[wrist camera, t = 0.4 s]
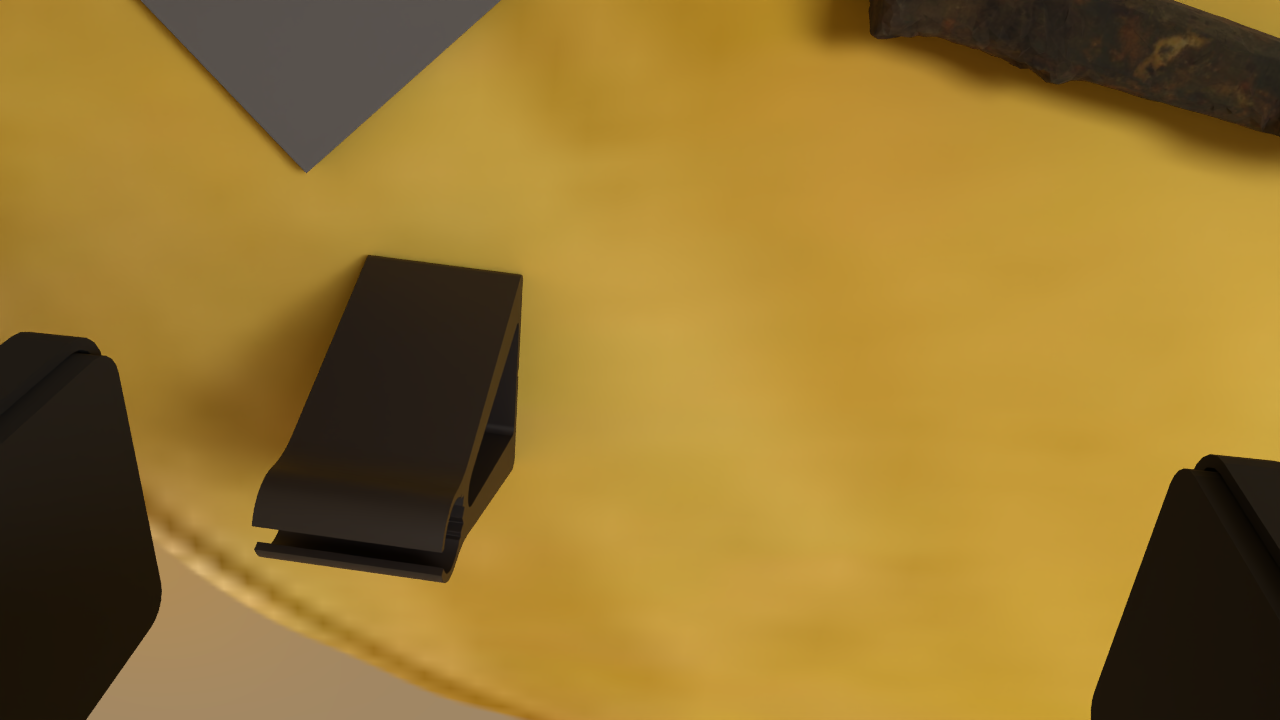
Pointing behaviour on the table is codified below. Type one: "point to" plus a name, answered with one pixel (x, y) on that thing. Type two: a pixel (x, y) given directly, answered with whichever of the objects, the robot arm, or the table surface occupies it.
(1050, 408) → the table surface
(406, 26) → the base plate
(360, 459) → the phone stand
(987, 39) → the hand tool
